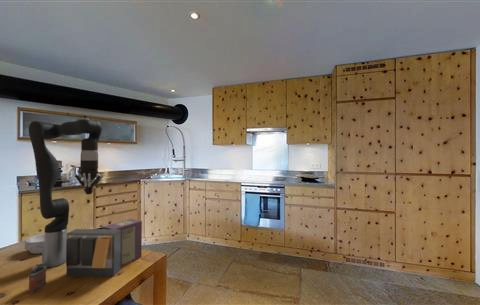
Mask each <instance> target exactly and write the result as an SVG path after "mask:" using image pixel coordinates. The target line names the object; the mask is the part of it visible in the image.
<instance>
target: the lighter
mask: <svg viewBox="0 0 480 305" xmlns="http://www.w3.org/2000/svg"><path fill="white" fill-rule="evenodd" d="M43 265H44V263H42V262H40V263H36V264H35V266H33V267H31V268H30V273H28V277H27V278H28V291H27V293H28V295H29V294H30V295H32V294H35V293H37V292H39V291H40V290H42V289H43V288H44V287H45V286H46V285H47V269H48V267H46V266H43Z"/></svg>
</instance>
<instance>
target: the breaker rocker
mask: <svg viewBox="0 0 480 305" xmlns="http://www.w3.org/2000/svg"><path fill="white" fill-rule="evenodd" d="M109 242H110V239H97V241H96V246H95V251H94V256H93V262H92V267H91V268H105V265H106V259H107V254H108V248H109Z"/></svg>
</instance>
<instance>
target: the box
mask: <svg viewBox="0 0 480 305" xmlns="http://www.w3.org/2000/svg"><path fill="white" fill-rule="evenodd" d="M142 224H143V221H142V220H138V219H133V218H129V219H125V220H122V221H118V222H114V223H111V224H107V225H104V226H102V229H121V244H120V268H121V267H123V266H125V265H128V264H130V263H132V262H133V261H136V260H138V259H140V258H142V250H143V249H142V241H143V240H142V239H143V238H142V234H143V232H142V231H143V227H142V226H143V225H142Z"/></svg>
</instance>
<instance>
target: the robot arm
mask: <svg viewBox="0 0 480 305" xmlns="http://www.w3.org/2000/svg"><path fill="white" fill-rule="evenodd" d="M102 131H103V127H102V124H101V122H100V121H99V120H94V119H84V118H81V119H77V120H75V121H71V120H70V121H65V122H62V123H61V124H56V123H51V122H46V121H39V120H34V121H33V120H32V121H31V122H30V123H29V126H28V135H29V139H30V142H31V146H32V150H33V156H34V161H35V163H34V164H35V170H36V177H37V181H38V189H39V207H40V208H39V210H40V214H41V216H42V218H43V219H46V220H49V219H50V220H51V219H53V220H52V221H51V222H49V223H48V224H46V225H45V226H44V234H45V236H44V246H43V247H42V253H41V263H44V265H43V266H46V267H47V268H52V267H53V268H54V267H58V266H60V265H64V264H66V239H67V233H68V224H69V216H70V203H69V201H68V199H67V198H65V197H62V198H61V197H60V198H54V199H53V195H52V194H53V192H52V191H53V188H54V186H55V184H56V182H57V181H58V179H59V176H60V167H59V162H58V160H57V158H56V157H55V156H54V154H53V153H52V152H51V151H50V150H49V148H48V147H47V146H46V142H45V140H53V139H56V138H60V137H65V136H79V135H83V134H88V137H87V138H82V140H81V143H80V144H81V146H80V166H79V167H80V168H79V169H80V171H79V173H78V174H77V175H75V176H74V177H75V179H76V180H77V182H78V183H79V184H80V185H81V186H83V187H84V188H85V189H84V190H85V191H84V192H85V194H86V195H92V194H93V191H94V190H93V189H94V186H97V185H98V184H99V182H100V181H101V180H102V179H103V177H104V176H103V175H102V174H100V173H99V171H98V169H99V150H98V149H99V141H100V138H101V135H102Z"/></svg>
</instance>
